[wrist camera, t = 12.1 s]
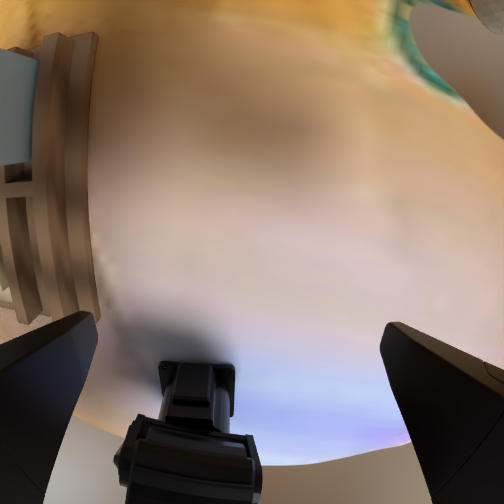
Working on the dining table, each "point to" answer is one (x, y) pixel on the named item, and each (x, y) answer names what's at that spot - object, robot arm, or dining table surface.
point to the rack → (52, 190)
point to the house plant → (490, 14)
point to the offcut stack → (4, 281)
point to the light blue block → (16, 106)
